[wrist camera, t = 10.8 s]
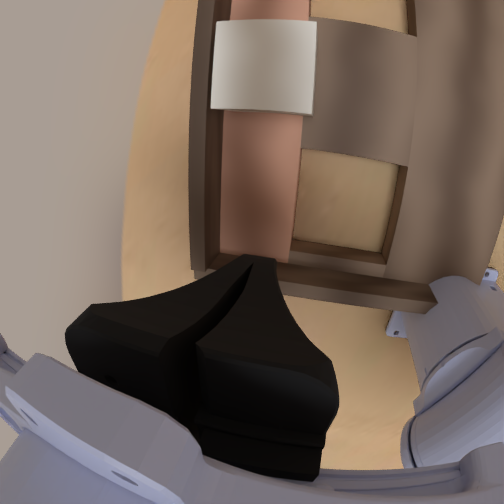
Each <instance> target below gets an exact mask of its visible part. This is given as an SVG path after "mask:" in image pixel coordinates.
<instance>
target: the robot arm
mask: <svg viewBox="0 0 504 504" xmlns="http://www.w3.org/2000/svg"><path fill="white" fill-rule="evenodd" d="M276 270H277V260H276V259H275V258H269V257H263V256H256V255H250V254H243V255H241V256H239V257H237V258H236V259H234V260H233V261H231V262H229V263H228V264H226V265H224V266H223V267H221V268H219V269H218V270H216V271H214V272H212V273H210V274H208V275H206V276H205V277H203V278H201V279H199V280H197V281H195V282H192V283H190V284H188V285H185V286H182V287H180V288H177V289H174V290H171V291H168V292H164V293H161V294H157V295H154V296H150V297H146V298H141V299H136V300H130V301H123V302H113V303H102V304H91V305H90V306H89V307H88V308H87V309H86V310H85V311H84V312H83V313H82V314H81V315H80V316H79V317H78V318H77V319H76V320H75V321H74V322H73V323H72V324H71V325H70V326H69V327H68V328H67V329H66V332H65V341H66V346H67V349H68V351H69V354H70V356H71V358H72V360H73V362H74V364H75V366H76V368H77V370H78V372H77V371H75V370H74V369H72V368H70V367H68V366H66V365H64V364H63V363H61V362H59V361H57V360H55V359H54V358H52V357H49V356H46V355H44V354H40V353H35V354H34V355H33V357H31V358H30V359H29V361H27V362H26V361H25V360H23V359H22V358H21V357H19V356H18V355H17V354H15V353H14V352H12V351H11V350H10V349H9V348H8V346H7V344H6V342H5V340H4V338H3V337H2V335H1V334H0V416H1V417H2V418H3V419H4V420H5V421H6V422H7V423H8V424H9V425H10V426H11V427H12V428H13V429H14V430H15V431H16V432H17V433H18V434H19V436H18V438H17V439H16V441H15V442H14V443H13V444H12V446H11V447H10V448H9V450H8V451H7V453H6V454H5V456H4V457H3V458H2V460H1V461H0V504H504V292H503V291H502V290H501V289H500V287H499V286H498V285H497V284H496V279H497V277H498V271H497V270H496V269H493V268H488V267H487V269H486V271H485V273H486V272H487V274H486V275H485V274H484V277H483V279H482V282H481V284H480V286H479V285H477V284H475V283H473V282H472V281H471V280H469V279H467V278H465V277H461V276H447V277H443V278H440V279H438V280H436V281H434V282H432V283H430V284H429V286H430V288H431V290H432V292H433V294H434V296H435V298H436V299H437V301H438V304H437V305H436V306H434V307H433V308H432V309H430V310H429V311H428V312H427V313H426V314H418V313H410V312H401V311H393V313H392V315H391V318H390V320H389V323H388V325H387V328H386V335H387V336H391V337H401V338H407V339H408V342H409V346H410V349H411V353H412V357H413V361H414V365H415V369H416V373H417V378H418V382H419V387H420V391H421V394H420V395H419V396H418V397H417V398H416V399H415V400H414V401H413V404H414V410H415V416H413V417H412V418H410V419H409V420H408V421H407V423H406V424H405V426H404V428H403V430H402V434H401V442H400V453H401V460H402V464H403V467H404V469H391V470H336V469H321V468H320V463H321V455H322V449H323V448H324V446H325V439H326V432H327V430H328V429H329V427H330V425H331V423H332V422H333V420H334V418H335V416H336V414H337V411H338V408H339V391H338V384H337V379H336V375H335V371H334V367H333V364H332V361H331V360H330V359H329V358H328V357H327V356H326V355H325V354H324V353H323V352H322V351H320V350H319V349H318V348H317V347H316V346H315V345H314V344H313V343H312V342H311V341H310V340H309V339H308V338H307V337H306V335H305V334H304V332H303V331H302V330H301V328H300V327H299V326H298V324H297V323H296V321H295V320H294V318H293V316H292V315H291V313H290V311H289V309H288V307H287V305H286V303H285V300H284V298H283V295H282V292H281V289H280V286H279V282H278V278H277V271H276ZM395 331H397V332H395Z"/></svg>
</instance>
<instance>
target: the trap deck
mask: <svg viewBox="0 0 504 504" xmlns="http://www.w3.org/2000/svg"><path fill="white" fill-rule="evenodd" d="M406 1H407V15H408V34H404V33H401V32H397V31H393V30H389V29H385V28H381V27H376V26H371V25H366V24H361V23H355V22H349V21H343V20H335V19H327V18H318V17H310V9H311V0H198V8H197V17H196V27H195V37H194V49H193V62H192V77H191V95H190V119H189V233H190V258H191V270H194V276H195V279H198V280H199V279H201V278H203V277H205V276H206V275H208V274H210V273H212V272H214V271H216V270H218V269H219V268H221V267H223V266H224V265H226V264H228V263H229V262H231V261H233V260H234V259H236V258H237V257H239V256H241V255H243V254H250V255H256V256H263V257H269V258H275V259H276V260H277V270H276V271H277V278H278V282H279V286H280V289H281V292H282V295H288V296H294V297H301V298H307V299H314V300H320V301H327V302H334V303H341V304H348V305H355V306H362V307H370V308H377V309H385V310H393V311H401V312H410V313H418V314H426V313H427V312H428V311H429V310H430V309H432V308H433V307H434V306H436V305H437V304H438V301H437V299H436V298H435V296H434V294H433V292H432V290H431V288H430V286H429V284H430V283H432V282H434V281H436V280H438V279H440V278H443V277H447V276H461V277H465V278H467V279H469V280H471V281H472V282H473V283H475V284H477V285H479V286H480V284H481V282H482V279H483V277H484V274H485V271H486V269H487V266H488V264H489V261H490V258H491V255H492V252H493V249H494V246H495V243H496V240H497V237H498V234H499V230H500V227H501V223H502V220H503V216H504V0H406ZM251 19H281V20H302V21H314V22H317V36H318V50H317V70H316V86H315V100H314V114H313V117H309V116H300V115H290V114H278V113H263V112H242V111H228V110H219V109H211V90H212V73H213V59H214V46H215V33H216V22H217V21H230V20H251ZM302 148H305V149H313V150H320V151H327V152H334V153H340V154H346V155H352V156H358V157H364V158H369V159H374V160H379V161H384V162H389V163H394V164H398V165H400V167H399V173H398V179H397V185H396V190H395V196H394V201H393V206H392V211H391V215H390V220H389V224H388V229H387V233H386V237H385V241H384V245H383V249H382V253H377V252H371V251H364V250H358V249H352V248H345V247H339V246H333V245H326V244H320V243H313V242H306V241H300V240H293V239H292V238H293V229H294V221H295V212H296V203H297V194H298V185H299V175H300V165H301V154H302Z"/></svg>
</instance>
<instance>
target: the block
mask: <svg viewBox="0 0 504 504" xmlns="http://www.w3.org/2000/svg"><path fill="white" fill-rule="evenodd" d="M317 50H318V36H317V22H314V21H302V20H281V19H251V20H230V21H217V22H216V33H215V46H214V59H213V73H212V90H211V109H219V110H228V111H242V112H263V113H278V114H290V115H300V116H309V117H313V114H314V100H315V86H316V70H317Z"/></svg>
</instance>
